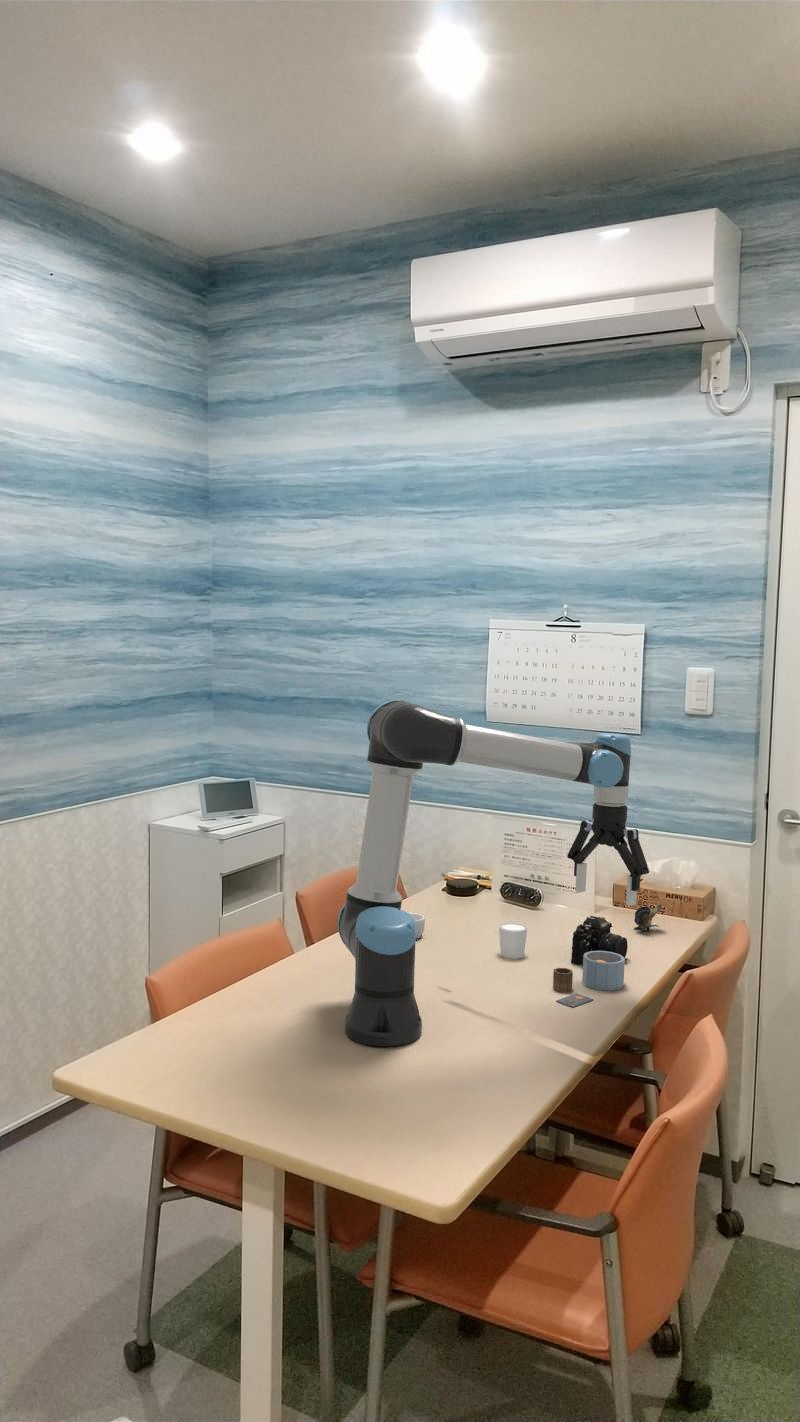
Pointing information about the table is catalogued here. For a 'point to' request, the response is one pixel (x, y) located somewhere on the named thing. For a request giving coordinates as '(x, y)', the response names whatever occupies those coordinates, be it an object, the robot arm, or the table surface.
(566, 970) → the tube
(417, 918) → the teacup
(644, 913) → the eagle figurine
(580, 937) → the film camera
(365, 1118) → the table surface
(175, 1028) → the table surface
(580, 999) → the card
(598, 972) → the tube
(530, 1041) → the table surface
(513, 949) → the white cylinder
